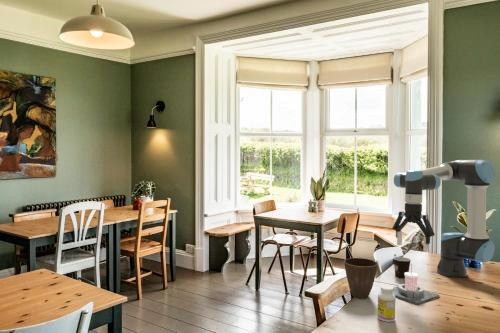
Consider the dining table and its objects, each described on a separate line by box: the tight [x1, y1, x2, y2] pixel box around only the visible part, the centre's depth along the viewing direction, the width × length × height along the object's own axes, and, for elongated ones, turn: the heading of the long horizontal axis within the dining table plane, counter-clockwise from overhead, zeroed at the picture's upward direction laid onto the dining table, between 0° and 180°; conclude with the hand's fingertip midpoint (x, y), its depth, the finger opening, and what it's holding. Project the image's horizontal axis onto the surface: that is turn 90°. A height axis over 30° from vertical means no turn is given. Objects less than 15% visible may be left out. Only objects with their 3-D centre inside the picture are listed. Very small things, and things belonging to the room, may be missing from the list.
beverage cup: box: [404, 262, 419, 291], centre depth 184 cm, size 6×6×14 cm
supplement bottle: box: [377, 285, 396, 323], centre depth 156 cm, size 7×7×13 cm
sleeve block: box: [393, 283, 440, 306], centre depth 184 cm, size 18×18×4 cm
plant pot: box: [343, 257, 378, 299], centre depth 181 cm, size 15×15×16 cm
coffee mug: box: [392, 256, 411, 280], centre depth 213 cm, size 12×9×10 cm
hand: (412, 247), depth 184 cm, fingers open, 13 cm apart
